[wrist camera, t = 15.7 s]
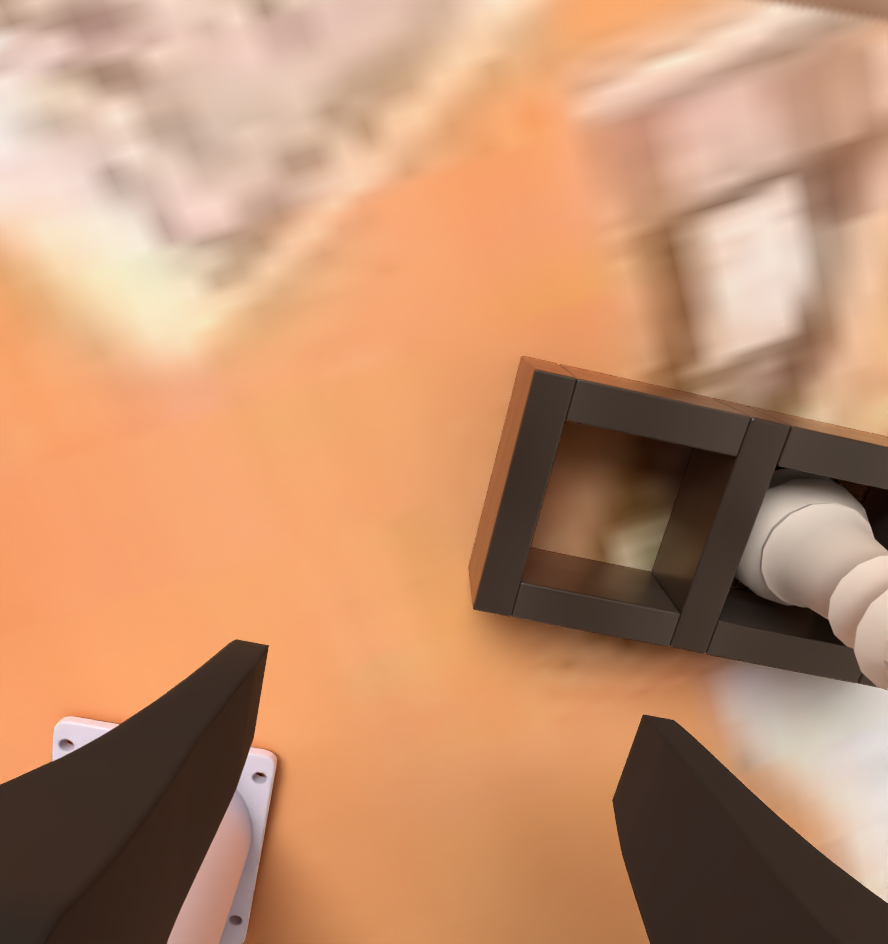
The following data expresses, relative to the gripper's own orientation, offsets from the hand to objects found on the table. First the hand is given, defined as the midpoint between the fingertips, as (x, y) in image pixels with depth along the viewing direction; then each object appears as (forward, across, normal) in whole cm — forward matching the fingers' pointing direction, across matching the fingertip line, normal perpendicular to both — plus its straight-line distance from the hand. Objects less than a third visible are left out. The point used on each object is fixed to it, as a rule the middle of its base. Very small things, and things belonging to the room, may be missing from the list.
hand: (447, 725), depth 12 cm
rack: (+10, -8, -2) cm, 13 cm away
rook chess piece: (+11, -11, -2) cm, 16 cm away
